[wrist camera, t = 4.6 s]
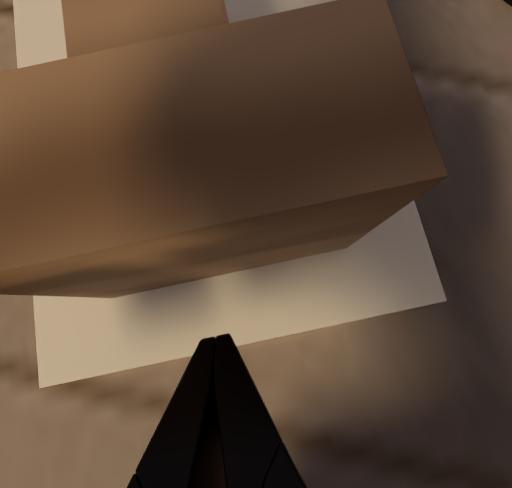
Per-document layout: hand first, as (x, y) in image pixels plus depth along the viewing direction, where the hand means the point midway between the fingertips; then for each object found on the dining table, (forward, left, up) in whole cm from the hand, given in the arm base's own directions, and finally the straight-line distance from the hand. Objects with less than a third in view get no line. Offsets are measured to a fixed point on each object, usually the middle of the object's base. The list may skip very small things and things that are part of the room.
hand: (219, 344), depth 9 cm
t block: (+3, -10, -6) cm, 12 cm away
